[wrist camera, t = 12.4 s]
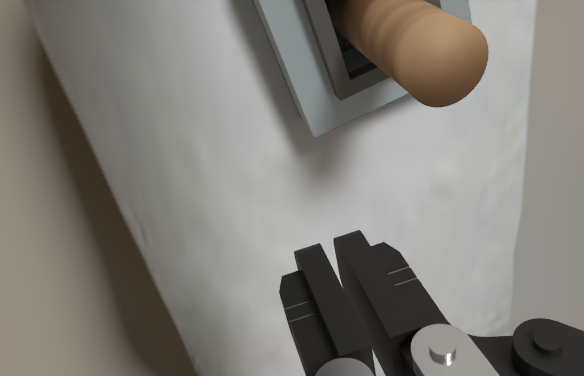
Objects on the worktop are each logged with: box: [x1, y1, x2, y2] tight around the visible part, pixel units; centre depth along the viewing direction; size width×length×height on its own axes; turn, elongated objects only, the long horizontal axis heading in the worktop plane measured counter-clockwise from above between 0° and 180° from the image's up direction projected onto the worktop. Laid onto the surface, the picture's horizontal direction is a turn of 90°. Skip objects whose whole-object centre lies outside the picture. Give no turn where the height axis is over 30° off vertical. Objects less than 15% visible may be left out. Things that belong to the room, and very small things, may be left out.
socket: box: [253, 0, 472, 138], centre depth 32 cm, size 12×12×4 cm
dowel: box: [325, 0, 488, 107], centre depth 28 cm, size 4×4×12 cm
